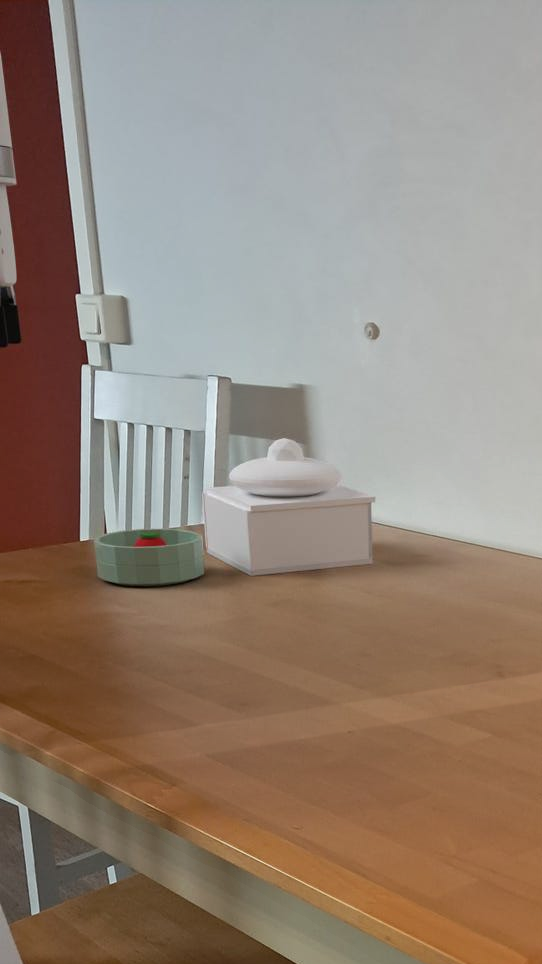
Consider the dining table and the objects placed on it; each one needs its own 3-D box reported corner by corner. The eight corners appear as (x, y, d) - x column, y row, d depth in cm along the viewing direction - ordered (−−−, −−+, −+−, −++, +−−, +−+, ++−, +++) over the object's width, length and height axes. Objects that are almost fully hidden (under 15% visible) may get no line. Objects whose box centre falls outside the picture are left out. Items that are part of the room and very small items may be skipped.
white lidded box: (206, 552, 178) (197, 433, 172) (325, 542, 186) (320, 428, 180) (250, 576, 164) (242, 447, 158) (376, 563, 172) (373, 441, 166)
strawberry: (133, 577, 161) (129, 537, 159) (135, 570, 165) (131, 530, 163) (170, 576, 161) (167, 536, 159) (172, 569, 166) (168, 529, 164)
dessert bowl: (94, 589, 156) (89, 548, 154) (103, 568, 168) (99, 529, 166) (204, 586, 158) (200, 546, 156) (205, 565, 170) (202, 527, 168)
